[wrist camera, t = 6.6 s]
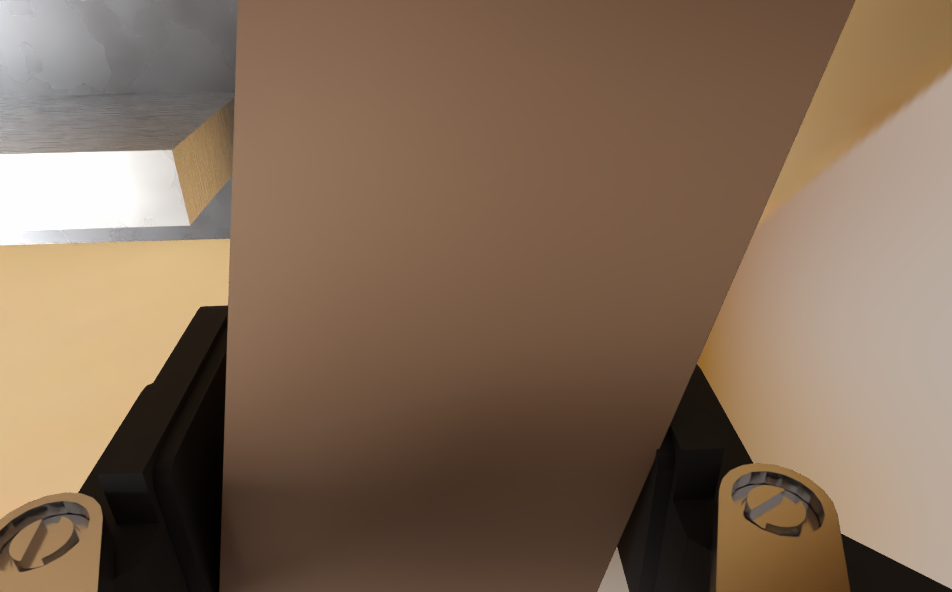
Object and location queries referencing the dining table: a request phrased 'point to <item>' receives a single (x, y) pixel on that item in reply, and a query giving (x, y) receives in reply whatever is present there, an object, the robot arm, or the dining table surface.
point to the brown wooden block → (482, 272)
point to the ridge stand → (116, 120)
